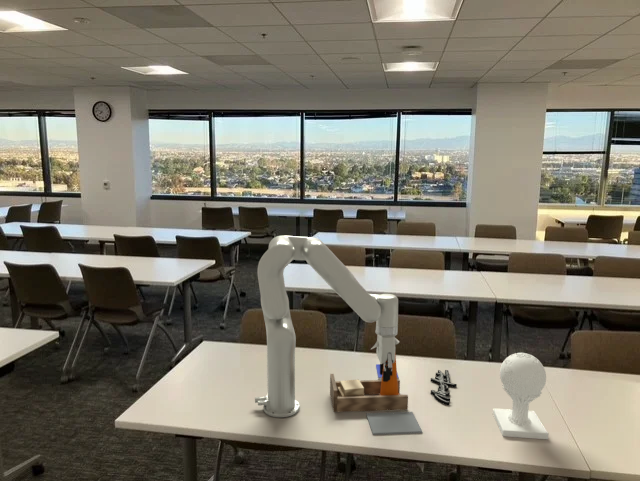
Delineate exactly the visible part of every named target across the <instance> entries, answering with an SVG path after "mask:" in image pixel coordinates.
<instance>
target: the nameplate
mask: <svg viewBox="0 0 640 481" xmlns="http://www.w3.org/2000/svg"><path fill="white" fill-rule="evenodd" d="M449 373H450V372H449V370H447V369H445V370H444V372H442V371H441V370H439V369H438V370H437V372H435V376H434V377H435V378H433V377H431V378H430V382H432V383H433V384H436V385H438V388H437V391H436V390H433V389H430V395H432V396H433V398H434V400H436V401H437V402H438V403H440V404H442V405H445V406H450V405H451V404H450V403H451V398H450V395H451V392H450V391H449V389H450V388H457V383H452V382H451V376H450V374H449Z"/></svg>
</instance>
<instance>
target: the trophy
mask: <svg viewBox="0 0 640 481" xmlns="http://www.w3.org/2000/svg"><path fill="white" fill-rule="evenodd" d="M543 365H544V364H543V363H542V362H541V361H540V360H539V359H538V358H537V357H535V356H534V355H532V354H530V353H525V352H517V353H516V352H515V353H512V354H510V355H509V356H507V357H505V359H504V360H503V362H502V363H501V365H500V368H499V377H500V378H499V379H500V381H501V383H502V389H503V390H504V391H505V392H506V394H507V395H508V396H509V397H510V399H511V400H512V406H511V407H512V408H511V409H510V408H508V409H507V408H496V407H495V408H492V415H493V418H494V420H495V422H496V425H497V427H498V429H499V431H500V433H501V436H502V437H509V438H523V439H537V440H538V439H539V440H549V432H548V430H547V428H546V427H545V426H544V424H543V423H542V420H541V419H540V417H539V416H538V414H537V413H536V411H535V410H529V406H530V403H531V402H533V401H535V400H537V398H540V397H541V395H542V394H543V392H542V390H543V389H544V388H545V386H546V381H547V373H546V369H545V367H544V366H543Z"/></svg>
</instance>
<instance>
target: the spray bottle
mask: <svg viewBox="0 0 640 481" xmlns="http://www.w3.org/2000/svg"><path fill="white" fill-rule="evenodd" d="M374 333H375V334H376V330H375V332H374ZM377 338H378V337H376V342H375V344H374V345H373V346H372V347H371V348H370V350H373V349H375V348H377V346H378V340H377ZM399 343H400V340H398V339H397V338H396V337H395V346H396V345H398V344H399ZM396 355H397V354H396V353H395V362H394V363H392V376H391V375H390V380H388V382H384V381H383V373H382V381H381V390H380V394H379V396H380V395H399V393H398V382H397V373H398V370H397V356H396ZM386 362H388V361H386ZM386 366H388V364H386ZM383 370H384V365H383Z"/></svg>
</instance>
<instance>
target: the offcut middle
mask: <svg viewBox="0 0 640 481" xmlns="http://www.w3.org/2000/svg"><path fill="white" fill-rule="evenodd" d="M337 393H338V395H339V397H348V396H344V394H343V392H342V390H341V388H340V387H338V391H337ZM354 396H365V394H364V395H354Z"/></svg>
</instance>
